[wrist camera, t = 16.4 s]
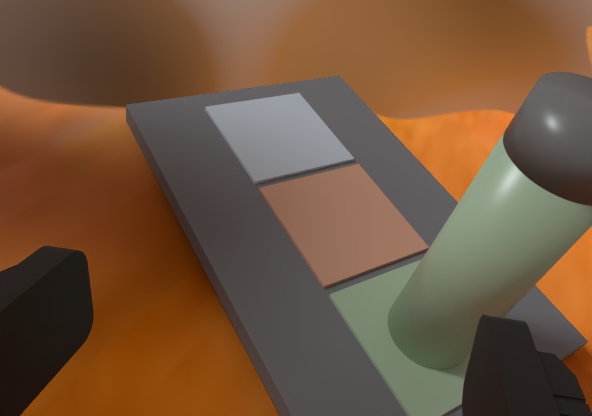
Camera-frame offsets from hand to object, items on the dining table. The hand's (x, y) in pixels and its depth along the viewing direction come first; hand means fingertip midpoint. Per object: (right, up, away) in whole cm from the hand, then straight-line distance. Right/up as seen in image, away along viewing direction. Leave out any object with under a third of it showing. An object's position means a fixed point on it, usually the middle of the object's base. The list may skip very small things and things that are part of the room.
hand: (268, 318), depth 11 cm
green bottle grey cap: (+7, -4, +14) cm, 16 cm away
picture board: (+3, +1, +20) cm, 20 cm away
